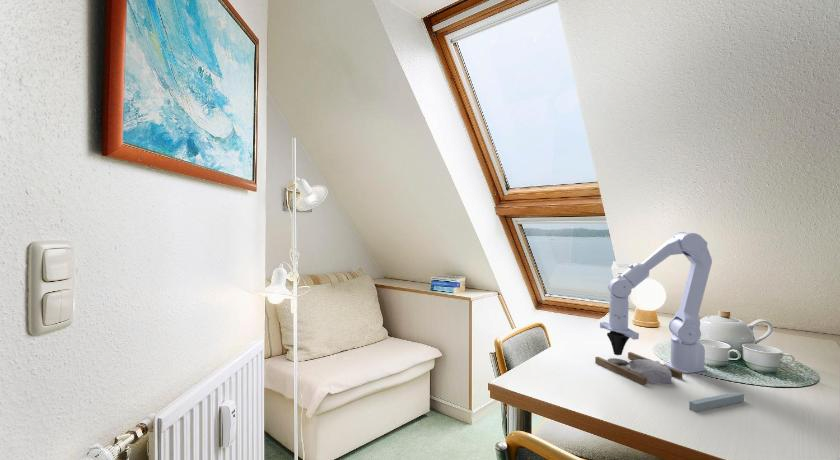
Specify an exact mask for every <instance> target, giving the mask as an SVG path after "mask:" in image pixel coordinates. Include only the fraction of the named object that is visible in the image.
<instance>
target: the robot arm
mask: <svg viewBox="0 0 840 460" xmlns="http://www.w3.org/2000/svg"><path fill="white" fill-rule="evenodd" d="M673 255H674V256H675V255H676V256H677V255H683V256H685V257H686V259H687V260H688V261H689V262H690V265H689V270H688V274H687V278H686V282H685V286H684V290H683V292H682V297H681V302H680V304H679V309H678V310H676V312H675V313H674V317H673V318H672V319H671V320H670V322H669V323H668V329H669V330H670V332H671V333H672V335H671V337H670V362H666V363H663V365H665V366H668V367H671V368H673V369H676V370H678V371H681V372H682V374H683V373H684V374H693V373H698V372H704V371H708V368H706V367H705V365H706V364H705V363H706V362H705V359H706V349H705V346H704V345H703V343H702V342H701V341H700V339H701V337H702V332H701V328H700V327H701V320H700V316H699V313H700V311H701V310H700V309H701V306H702V301H703V298H704V293H705V290H706V287H707V282H708V279H709V275H710V272H711V268H712V263H713V260H712V256H711V254H710V251H709V248H708V242H707V240H705V239H704V237H703V236H702V235H700V234H698V233H695V232H685V231H682V232H677V233H676V234H675V233H674V235H673V237H670V238H668V239H667V240H666V241H665V242H664V243H662V244H661V245H660V246H659V247H658V248H657V249H655V251H654V252H653V253H651V254H650V255H649V256H648V257H647V258H645V260H643V262H635V263H634V264H629V265H628V268H627V269H626V270H625V271H624V272H623V273H621V274H618V275H617V278H613V279H612V280H611V281H609V284H608V286H607V289H608V291H609V292H610V296H609V310H608V311H609V318H608V319H609V321H608V322H605V321H602V322H599V328H600V329H604V330H607V331H609V332H607V333H606V336H607V337H608V339H609V341H610V343H611V348H612V351H613V355H615V356H622V355H623V352H624V349H625V346H626V344H627V342H628V341H629V339H632V340H635V341H636V340H639V337H640V335H639V334H640V333H639V332H637V331H635V330H633V329H630V328H629V306H630V305H629V304H630V303H629V296H630V295H631V294H632V290H633V289H635V288H636V287H637V286H638V285H640V284H641V283H643V282H644V281H645V280H646V279H648V277H650V272H651V270H652V269H654V268H655V267H656V266H658V265H660V263H662V262H663V261H664V260H666V259H667V258H669V257H670V256H673Z"/></svg>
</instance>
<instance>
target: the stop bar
mask: <svg viewBox="0 0 840 460" xmlns="http://www.w3.org/2000/svg"><path fill="white" fill-rule="evenodd" d="M743 402H745V393H743V392H740V391H733V392H730V393H729V392H728V393H724V394H719V395H715V396H714V395H713V396H708V397H705V398H698V399H695V400H689V401H688V405H689V406H688V407H689V410H690V411H693V412H694V413H695V412H696V413H698V412H701V411H705V410H710V409H715V408H719V407H720V408H721V407H724V406H729V405H733V404H737V403H738V404H740V403H743Z"/></svg>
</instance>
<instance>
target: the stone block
mask: <svg viewBox="0 0 840 460" xmlns="http://www.w3.org/2000/svg"><path fill="white" fill-rule="evenodd" d="M650 360H651V359H650ZM650 360H645V359H644V360H643V359H637V360H629V361H628V363H629V364H628V366H629V369H630V371H632V372H634V373H637V374H639V375H641V376H644V377H646V378H647V384H648V383H650V384H672V382H673V381H672V378H673V376H672V374H671V371H670V370H669V369H668V368H667V367H665V366H662V365H661V364H662V363H660V361H659V360H653V361H650Z"/></svg>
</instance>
